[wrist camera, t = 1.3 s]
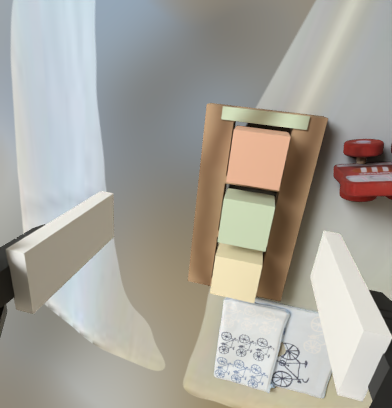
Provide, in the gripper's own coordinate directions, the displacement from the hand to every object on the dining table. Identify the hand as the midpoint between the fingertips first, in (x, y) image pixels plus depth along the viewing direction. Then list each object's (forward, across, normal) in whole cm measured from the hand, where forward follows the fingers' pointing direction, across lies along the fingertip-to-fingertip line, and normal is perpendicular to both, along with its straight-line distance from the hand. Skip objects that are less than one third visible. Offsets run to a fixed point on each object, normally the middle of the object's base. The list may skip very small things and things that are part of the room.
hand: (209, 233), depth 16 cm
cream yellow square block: (+23, +2, -16) cm, 28 cm away
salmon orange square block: (+23, +2, 0) cm, 23 cm away
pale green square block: (+23, +2, -8) cm, 24 cm away
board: (+26, +2, -8) cm, 27 cm away
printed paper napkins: (+27, +11, -33) cm, 44 cm away
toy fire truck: (+26, +17, 0) cm, 31 cm away
